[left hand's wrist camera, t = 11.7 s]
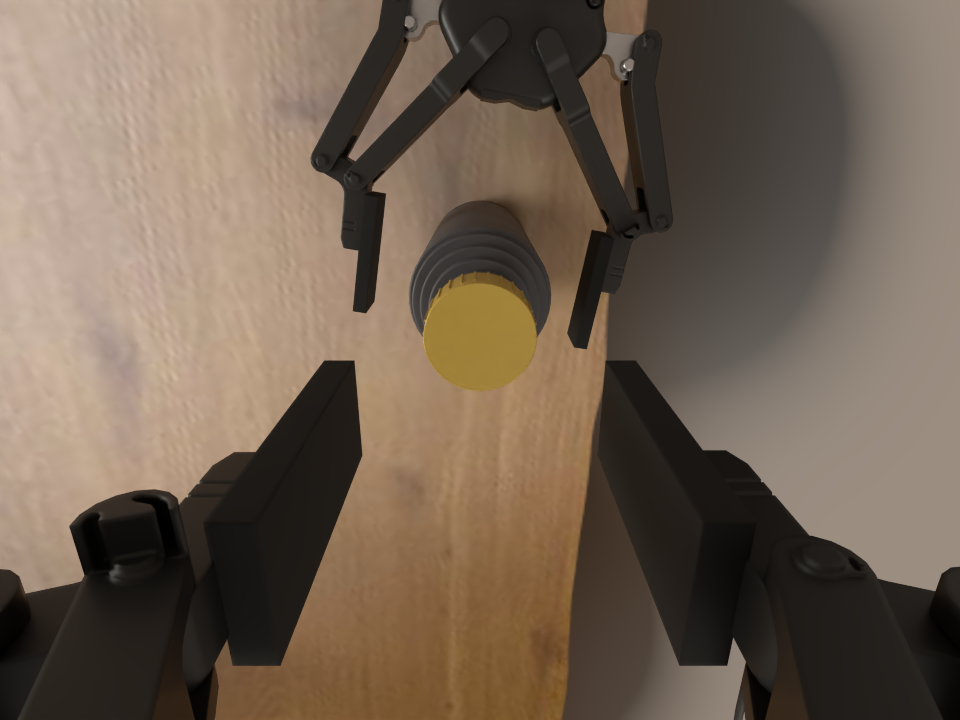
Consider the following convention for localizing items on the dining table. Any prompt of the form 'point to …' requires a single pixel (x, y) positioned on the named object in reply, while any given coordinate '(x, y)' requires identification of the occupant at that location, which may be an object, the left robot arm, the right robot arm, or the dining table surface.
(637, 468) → the left robot arm
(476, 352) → the cap
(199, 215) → the dining table surface
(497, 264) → the bottle
